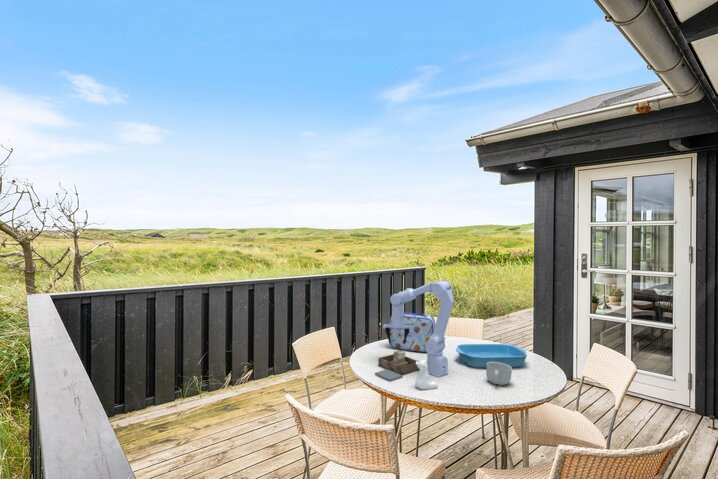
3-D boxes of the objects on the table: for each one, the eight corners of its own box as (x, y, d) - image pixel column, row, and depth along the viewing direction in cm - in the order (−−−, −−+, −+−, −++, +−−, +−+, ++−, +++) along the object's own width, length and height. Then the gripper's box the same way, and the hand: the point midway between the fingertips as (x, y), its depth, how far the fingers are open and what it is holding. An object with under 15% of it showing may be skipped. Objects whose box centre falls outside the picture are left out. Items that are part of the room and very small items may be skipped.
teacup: (491, 376, 175) (491, 359, 175) (514, 382, 168) (515, 365, 168) (479, 385, 164) (480, 367, 164) (504, 392, 157) (505, 373, 157)
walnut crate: (420, 369, 181) (420, 361, 181) (401, 375, 173) (401, 367, 173) (396, 360, 193) (397, 353, 193) (378, 365, 185) (378, 357, 185)
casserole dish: (464, 370, 182) (464, 356, 182) (449, 356, 205) (449, 343, 205) (535, 370, 186) (536, 356, 186) (513, 355, 208) (513, 343, 208)
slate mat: (402, 377, 170) (402, 375, 170) (389, 381, 165) (389, 379, 165) (387, 371, 178) (387, 369, 178) (374, 374, 173) (374, 372, 173)
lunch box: (437, 349, 215) (438, 311, 215) (435, 355, 205) (436, 315, 205) (390, 344, 223) (391, 308, 223) (387, 349, 213) (388, 311, 213)
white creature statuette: (439, 388, 160) (439, 360, 160) (427, 393, 154) (427, 364, 154) (421, 381, 167) (422, 354, 167) (409, 386, 161) (409, 358, 161)
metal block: (405, 362, 183) (405, 352, 183) (399, 363, 180) (399, 353, 180) (399, 360, 186) (399, 350, 186) (393, 361, 183) (393, 351, 183)
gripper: (411, 316, 194) (411, 341, 194) (384, 314, 197) (383, 340, 197) (411, 318, 187) (411, 345, 187) (383, 317, 190) (382, 343, 190)
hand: (396, 343), depth 191 cm, fingers open, 7 cm apart
